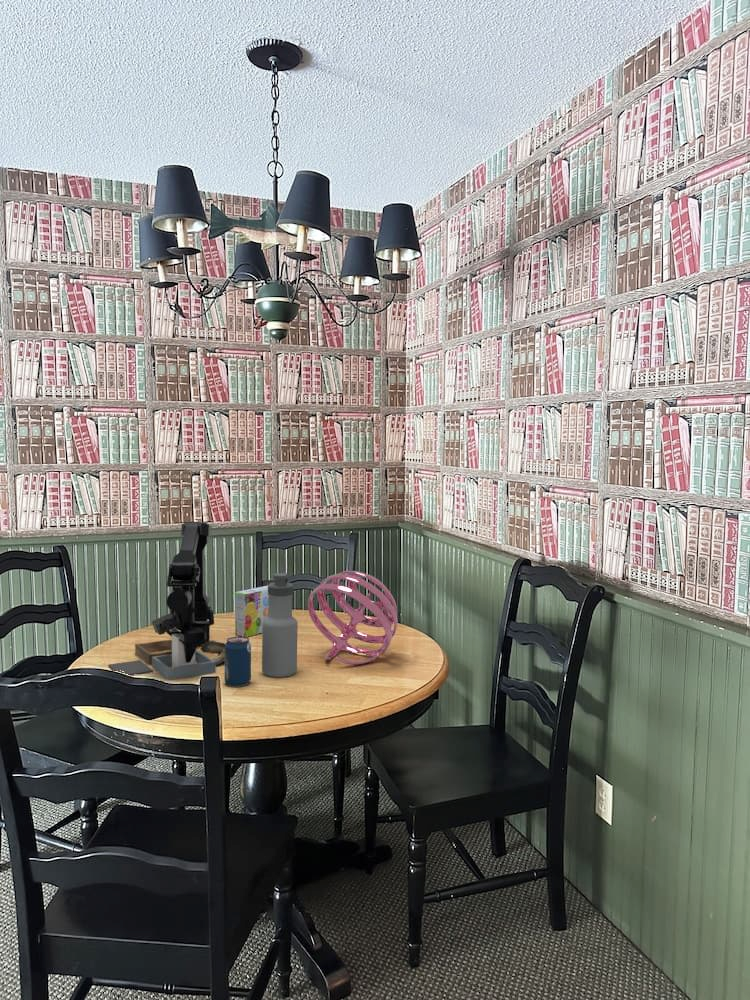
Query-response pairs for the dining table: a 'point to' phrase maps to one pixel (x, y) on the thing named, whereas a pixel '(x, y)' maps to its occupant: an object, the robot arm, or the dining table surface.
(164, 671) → the frame
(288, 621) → the water bottle
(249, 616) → the snack box
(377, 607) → the spiral basket
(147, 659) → the frame
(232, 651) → the soda can
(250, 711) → the dining table surface
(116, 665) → the dark grey flat slab
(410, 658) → the dining table surface
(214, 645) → the eagle figurine
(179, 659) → the letter block
